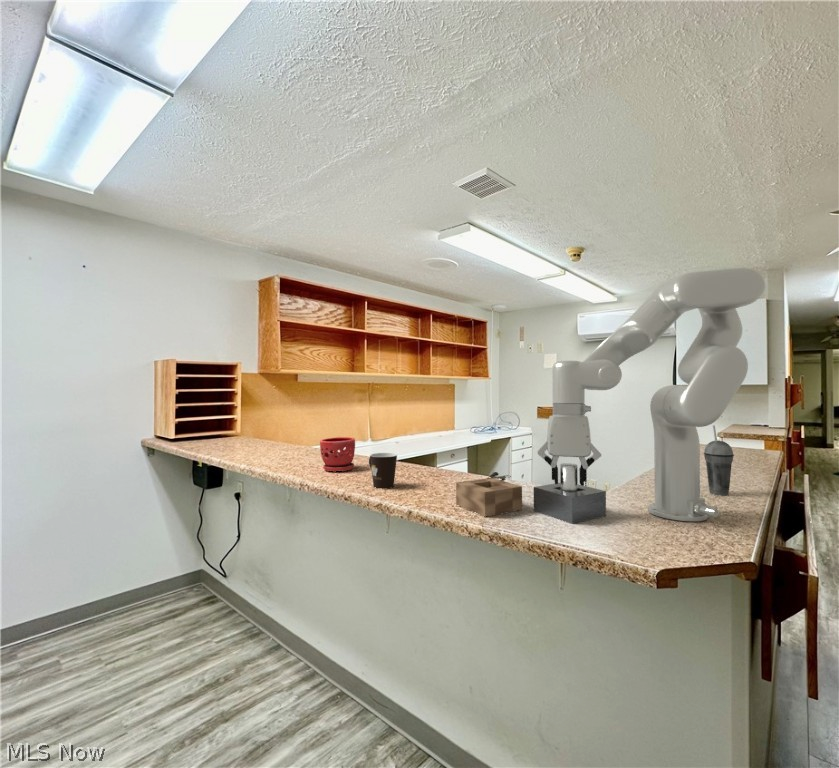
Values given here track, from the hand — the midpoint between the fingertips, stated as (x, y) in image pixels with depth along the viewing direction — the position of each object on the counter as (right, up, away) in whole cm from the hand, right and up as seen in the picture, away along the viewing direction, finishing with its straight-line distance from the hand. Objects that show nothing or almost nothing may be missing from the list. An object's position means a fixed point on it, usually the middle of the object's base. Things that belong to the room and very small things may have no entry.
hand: (568, 482), depth 105 cm
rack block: (-19, -8, +5) cm, 21 cm away
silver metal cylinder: (0, -7, 0) cm, 7 cm away
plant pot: (-68, -8, +56) cm, 89 cm away
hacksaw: (-11, -9, +35) cm, 38 cm away
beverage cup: (+50, -8, +19) cm, 54 cm away
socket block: (0, -7, 0) cm, 7 cm away
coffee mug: (-49, -8, +31) cm, 58 cm away
